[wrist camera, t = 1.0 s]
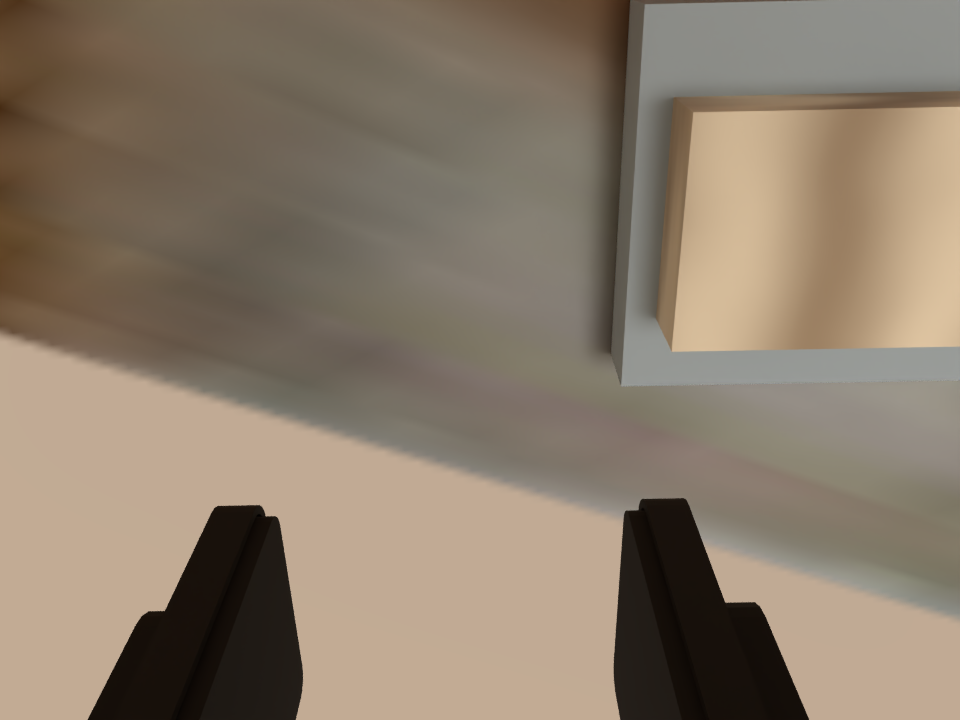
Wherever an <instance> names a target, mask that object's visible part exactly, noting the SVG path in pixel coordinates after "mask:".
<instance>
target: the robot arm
mask: <svg viewBox="0 0 960 720" xmlns="http://www.w3.org/2000/svg"><path fill="white" fill-rule="evenodd" d="M622 537H623V538H622V552H621V566H620V580H619V595H618V609H617V623H616V638H615V653H614V684H615V692H616V698H617V703H618V709H619V715H620V720H809V718H808V716H807V714H806V711H805V709H804V707H803V704H802V702H801V699H800V697H799V695H798V692H797V690H796V688H795V685H794V683H793V681H792V678H791V676H790V673H789V671H788V669H787V666H786V664H785V662H784V659H783V657H782V655H781V652H780V650H779V648H778V645H777V643H776V641H775V638H774V636H773V634H772V631H771V629H770V626H769V624H768V622H767V619H766V617H765V615H764V613H763V611H762V609H761V608H760V606H758V605H757V604H756V603H755V602H752V603H751V602H748V603H747V602H746V603H725V601H724V598H723V596H722V593H721V590H720V588H719V585H718V582H717V580H716V577H715V574H714V571H713V569H712V566H711V564H710V561H709V558H708V555H707V553H706V550H705V547H704V545H703V542H702V539H701V536H700V534H699V531H698V528H697V526H696V523H695V520H694V518H693V515H692V512H691V510H690V507H689V504H688V502H687V500H686V499H684V498H675V499H642V500H641V501H640V504H639V510H637V511H625V514H624V522H623V536H622ZM302 684H303V670H302V661H301V655H300V649H299V642H298V636H297V630H296V624H295V617H294V610H293V604H292V598H291V591H290V585H289V580H288V572H287V566H286V560H285V553H284V547H283V541H282V535H281V528H280V523H279V520H278V518H277V517H275V516H270V517H269V516H267V517H266V516H265V512H264V510H263V508H262V507H261V506H260V505H247V506H217V507H215V508H214V510H213V511H212V513H211V515H210V517H209V519H208V521H207V524H206V526H205V528H204V530H203V532H202V534H201V536H200V538H199V540H198V542H197V545H196V547H195V549H194V551H193V553H192V555H191V558H190V559H189V561H188V563H187V566H186V568H185V570H184V572H183V574H182V576H181V578H180V580H179V582H178V585H177V587H176V589H175V591H174V593H173V595H172V597H171V599H170V601H169V603H168V606H167V608H166V610H165V611H152V612H151V611H149V612H147V613H146V614H144V615H143V616H142V617H141V618H140V620H139V621H138V623H137V624H136V626H135V628H134V630H133V632H132V634H131V636H130V637H129V639H128V642H127V643H126V645H125V647H124V649H123V652H122V653H121V655H120V657H119V659H118V661H117V663H116V665H115V667H114V669H113V671H112V673H111V675H110V677H109V679H108V681H107V683H106V685H105V687H104V689H103V691H102V693H101V695H100V697H99V698H98V700H97V703H96V704H95V706H94V708H93V710H92V712H91V714H90V716H89V718H88V720H296V716H297V712H298V708H299V703H300V699H301V694H302V686H303V685H302Z"/></svg>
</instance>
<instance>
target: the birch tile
mask: <svg viewBox="0 0 960 720" xmlns="http://www.w3.org/2000/svg"><path fill="white" fill-rule="evenodd" d="M656 320H657V322H658V324H659V326H660V328H661V330H662V332H663V335H664V337H665V339H666V341H667V343H668V345H669V347H670V349H671V352H689V351H744V350H799V349H854V348H909V347H960V91H933V92H886V93H838V94H791V95H744V96H697V97H674V98H673V111H672V124H671V136H670V149H669V161H668V174H667V186H666V199H665V211H664V224H663V237H662V249H661V262H660V274H659V287H658V299H657V312H656Z"/></svg>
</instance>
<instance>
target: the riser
mask: <svg viewBox="0 0 960 720" xmlns="http://www.w3.org/2000/svg"><path fill="white" fill-rule="evenodd" d="M933 91H960V0H630V15H629V33H628V51H627V70H626V88H625V106H624V124H623V143H622V161H621V179H620V198H619V216H618V234H617V252H616V271H615V289H614V307H613V326H612V344H611V356H612V359H613V362H614V365H615V369H616V372H617V375H618V378H619V381H620V384H621V386H672V385H729V384H785V383H841V382H897V381H953V380H960V347H909V348H854V349H799V350H744V351H689V352H671V349H670V347H669V345H668V343H667V341H666V339H665V337H664V335H663V332H662V330H661V328H660V326H659V324H658V322H657V320H656V312H657V299H658V287H659V274H660V262H661V249H662V237H663V224H664V211H665V199H666V186H667V174H668V161H669V149H670V136H671V124H672V111H673V98H674V97H697V96H744V95H791V94H838V93H886V92H933Z"/></svg>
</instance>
